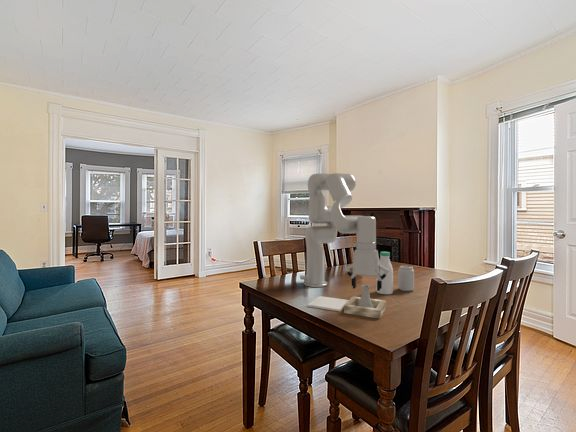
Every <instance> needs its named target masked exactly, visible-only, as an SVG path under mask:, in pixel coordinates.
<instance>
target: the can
mask: <svg viewBox="0 0 576 432" xmlns="http://www.w3.org/2000/svg"><path fill="white" fill-rule="evenodd" d="M397 275H398V276H397V277H398V278H397V288H398V290H400V291H402V292H412V291H414V290H415V270H414V267H413V266H410V265H400V266H399V268H398V272H397Z"/></svg>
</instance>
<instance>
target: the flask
mask: <svg viewBox="0 0 576 432" xmlns="http://www.w3.org/2000/svg"><path fill="white" fill-rule="evenodd" d="M361 288H362V292H361V295H360V297H361V298H360V301H359V304H358V305H357V306H362V307H369V308H374V307H373V305H372V302H371V299H372V298H371V295H370V288H371V287H370V285H367V284H365V285H364V284H362V285H361Z"/></svg>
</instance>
